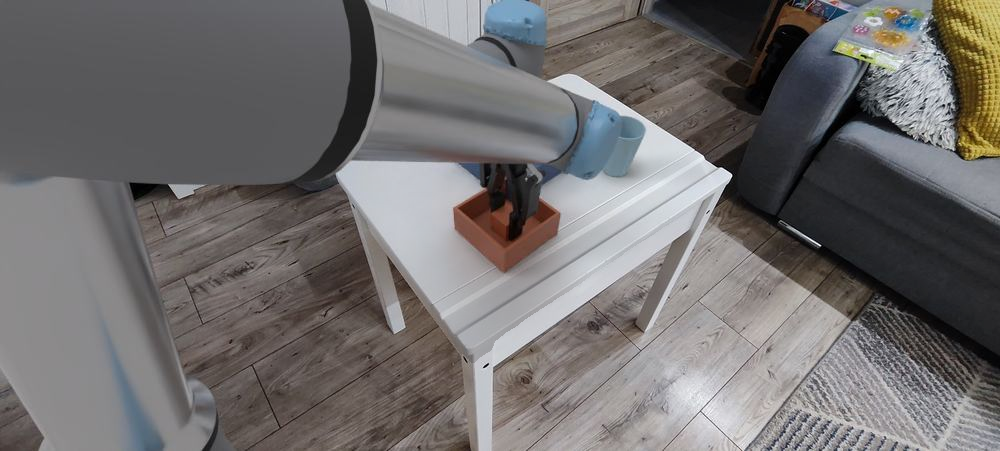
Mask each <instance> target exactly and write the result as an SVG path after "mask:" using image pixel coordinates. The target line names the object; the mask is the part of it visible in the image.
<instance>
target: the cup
mask: <svg viewBox="0 0 1000 451" xmlns="http://www.w3.org/2000/svg"><path fill="white" fill-rule="evenodd" d="M620 117H621V132H620V136H619V139H618V142H617V145H616V147H615V149H614V152H613V154H612V156H611V158H610V159H609V161H608V163H607V164H606V166H605V167H604V169H603V170H602V172H603V173H605V174H606V175H607V176H610V177H614V178H619V177H623V176H626V175H627V173H628V171H629V169H630V168H631V167H632V166H631V165H632V164H633V161H634V159H635V157H636V155H637V153H638V150H639V148H640V146H641V143H642V141H643V140H644V138H645V135H646V133H647V126H646V125H645V124H644V123H643V121H641V120H640V119H637V118H636V117H633V116H629V115H620Z"/></svg>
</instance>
